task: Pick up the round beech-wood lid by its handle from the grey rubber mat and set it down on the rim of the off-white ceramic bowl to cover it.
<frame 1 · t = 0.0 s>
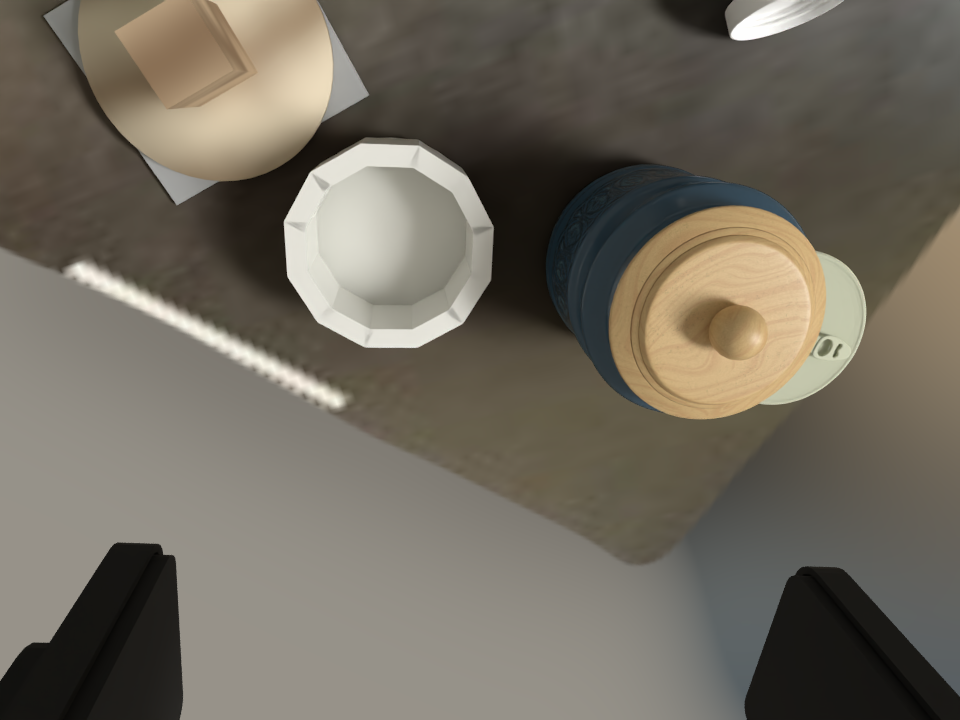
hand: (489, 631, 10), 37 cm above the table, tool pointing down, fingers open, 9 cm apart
lid: (212, 57, 40), resting on mat
mat: (214, 57, 40), on the table
canister: (631, 257, 47), on the table, touching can
bowl: (392, 231, 45), on the table
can: (702, 279, 48), on the table, touching canister
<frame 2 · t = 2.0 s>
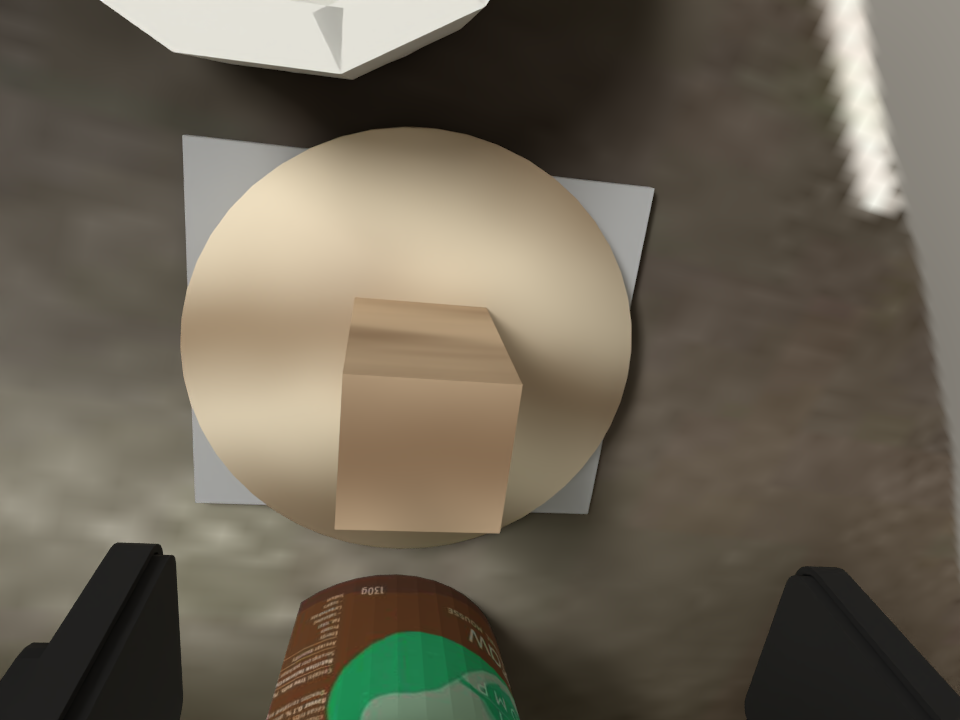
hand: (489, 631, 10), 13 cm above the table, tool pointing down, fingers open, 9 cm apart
lid: (414, 352, 22), resting on mat
mat: (414, 348, 22), on the table
food container: (438, 627, 27), on the table
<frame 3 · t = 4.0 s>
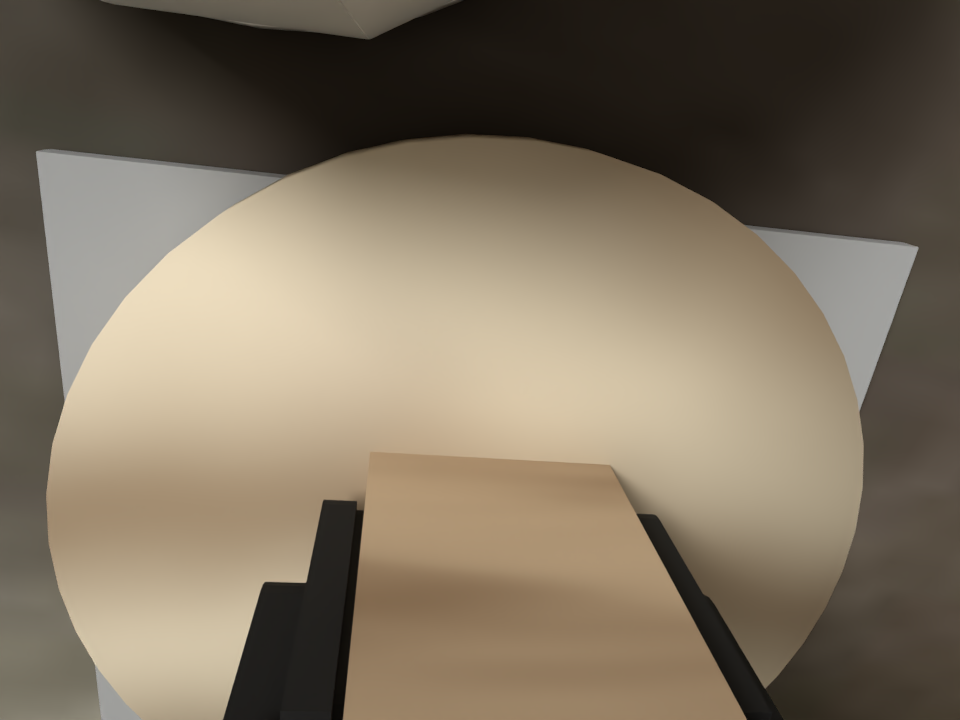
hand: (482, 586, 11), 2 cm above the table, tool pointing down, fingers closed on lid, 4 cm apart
lid: (473, 523, 13), resting on mat, touching gripper
mat: (471, 511, 13), on the table
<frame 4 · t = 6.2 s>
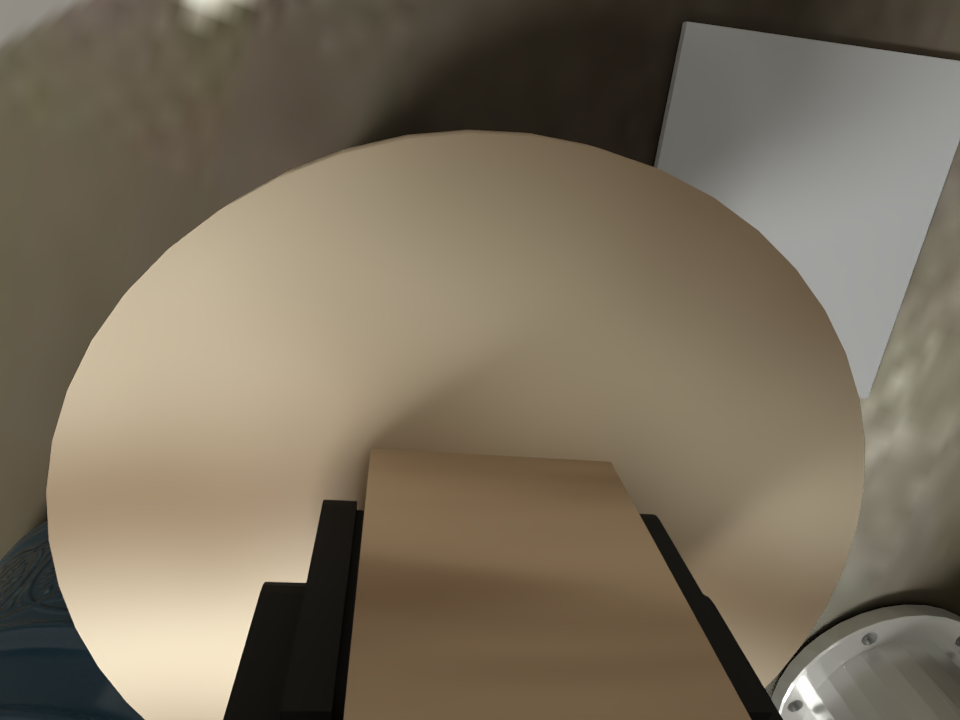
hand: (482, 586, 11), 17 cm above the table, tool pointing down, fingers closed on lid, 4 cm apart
lid: (473, 521, 13), point 16 cm above the table, touching gripper
mat: (783, 231, 28), on the table
canister: (160, 598, 32), on the table, touching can
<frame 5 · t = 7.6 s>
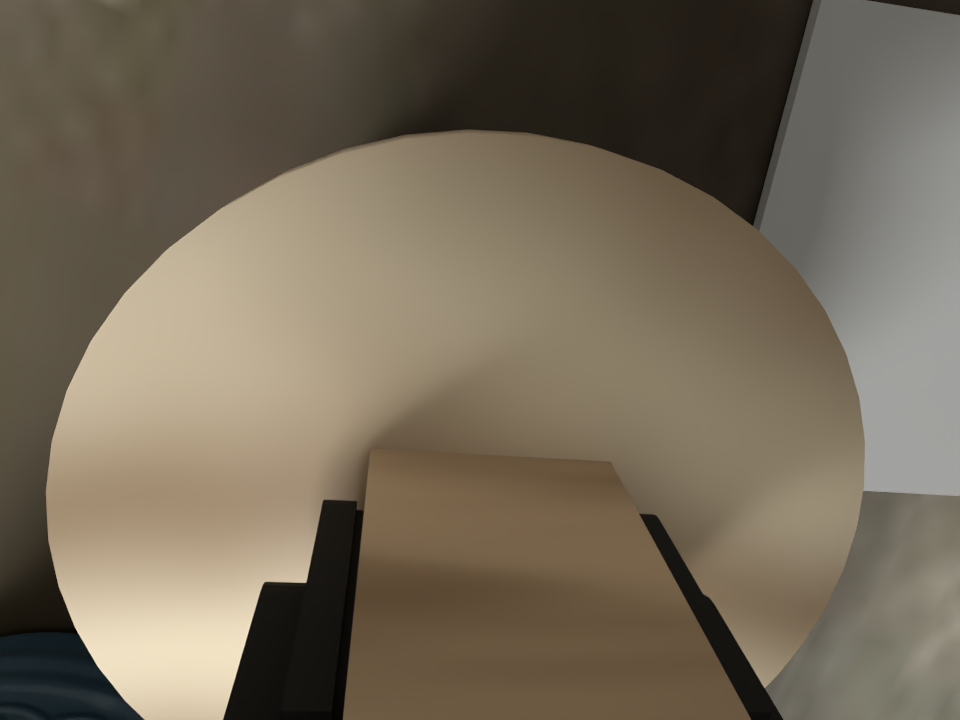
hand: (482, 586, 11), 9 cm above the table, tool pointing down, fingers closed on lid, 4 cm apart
lid: (473, 520, 13), point 8 cm above the table, touching gripper
mat: (928, 284, 20), on the table
when the fingers open (9 cm above the table, at t = 8.5 s): lid stays where it is, resting on bowl.
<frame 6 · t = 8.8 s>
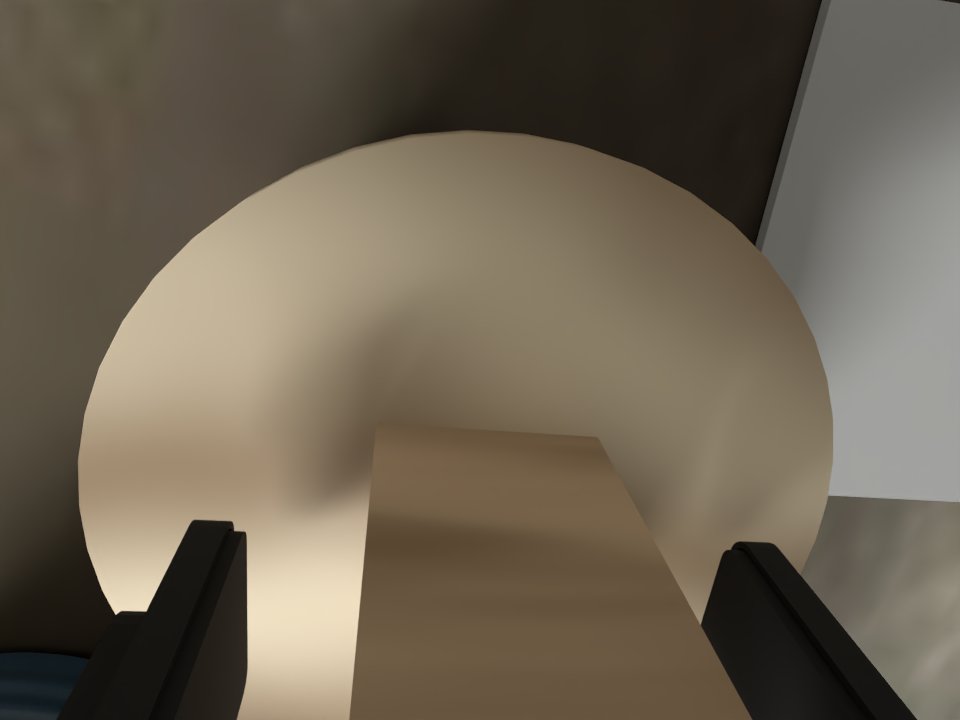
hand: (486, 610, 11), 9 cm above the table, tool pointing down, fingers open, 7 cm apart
lid: (471, 494, 14), point 6 cm above the table, touching bowl
mat: (940, 286, 20), on the table
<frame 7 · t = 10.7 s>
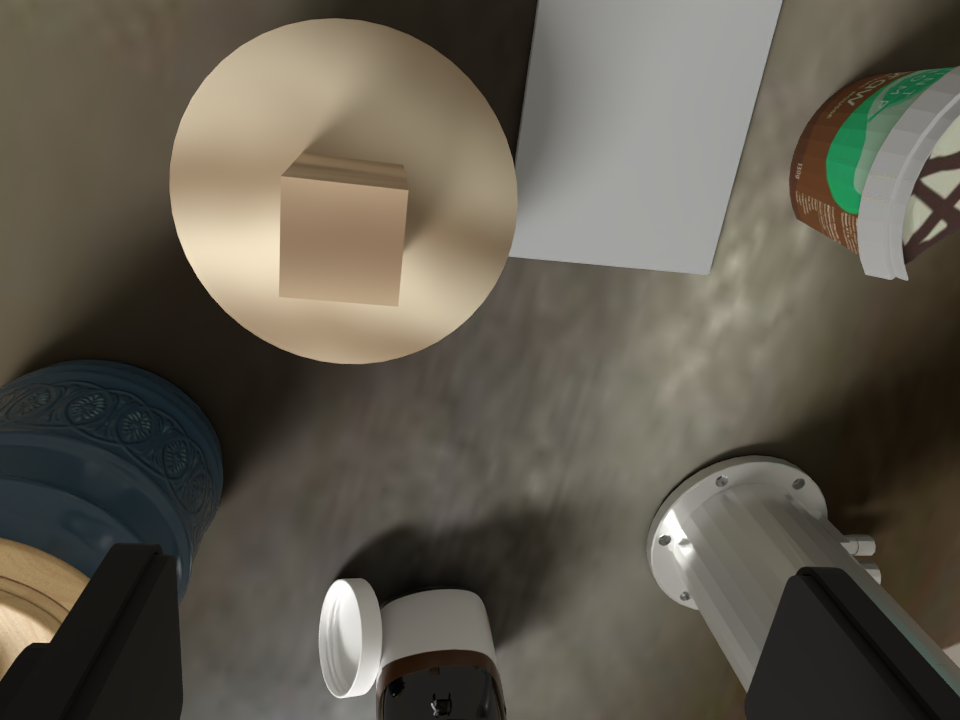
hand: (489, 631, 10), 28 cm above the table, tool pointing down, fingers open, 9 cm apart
lid: (351, 204, 28), point 6 cm above the table, touching bowl
mat: (633, 133, 35), on the table
canister: (111, 455, 38), on the table, touching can
food container: (848, 121, 36), on the table
spread jar: (405, 616, 46), on the table
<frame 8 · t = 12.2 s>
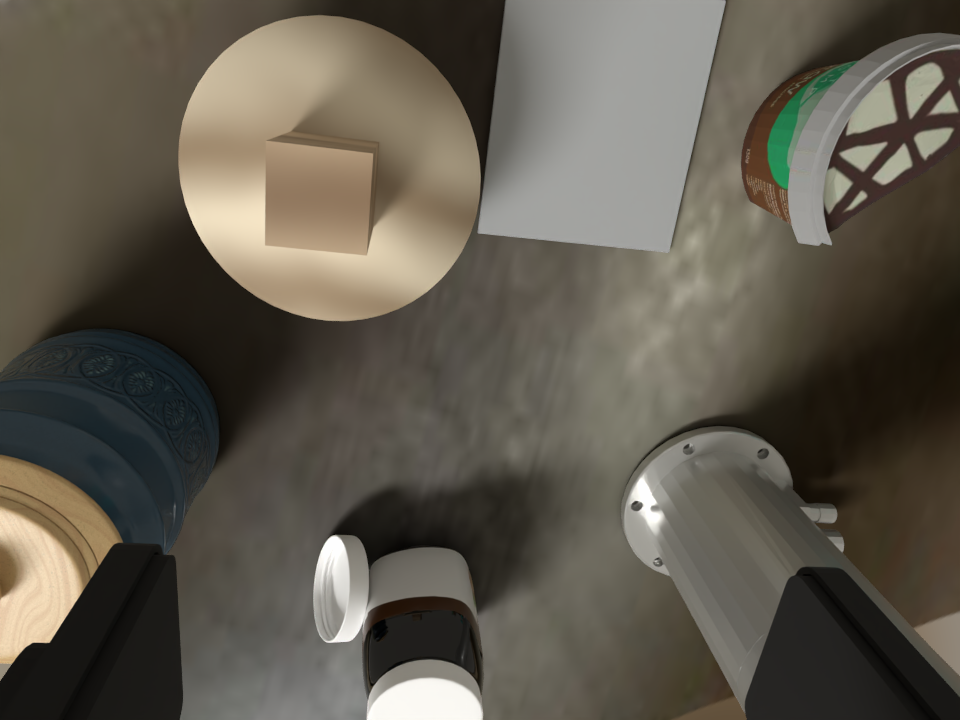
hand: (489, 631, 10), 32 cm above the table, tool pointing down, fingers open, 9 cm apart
lid: (335, 178, 33), point 6 cm above the table, touching bowl
mat: (594, 121, 39), on the table
canister: (120, 418, 43), on the table, touching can
food container: (794, 111, 40), on the table
spread jar: (395, 576, 50), on the table
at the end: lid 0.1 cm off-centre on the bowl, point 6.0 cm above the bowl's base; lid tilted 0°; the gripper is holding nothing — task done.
